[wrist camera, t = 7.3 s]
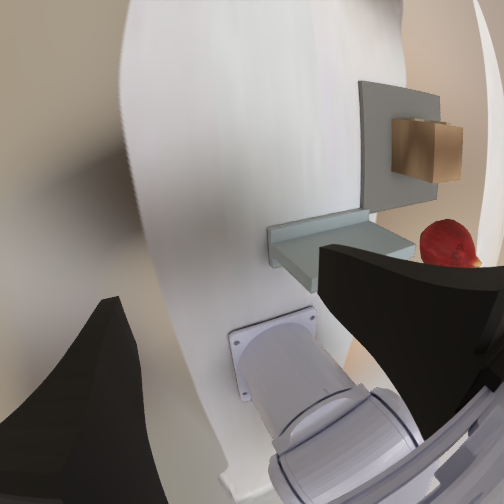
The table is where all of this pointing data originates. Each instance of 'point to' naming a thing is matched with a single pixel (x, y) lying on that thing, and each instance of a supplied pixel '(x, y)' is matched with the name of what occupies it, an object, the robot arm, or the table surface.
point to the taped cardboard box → (427, 150)
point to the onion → (448, 245)
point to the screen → (330, 242)
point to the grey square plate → (390, 145)
